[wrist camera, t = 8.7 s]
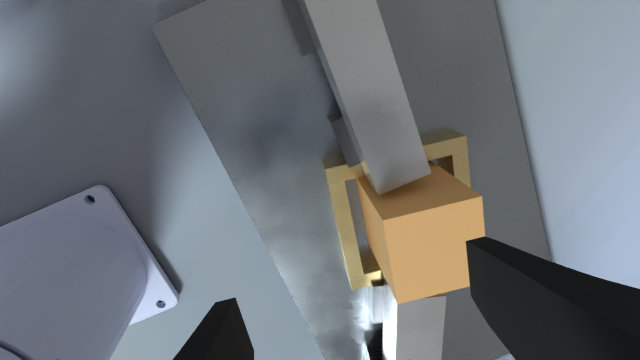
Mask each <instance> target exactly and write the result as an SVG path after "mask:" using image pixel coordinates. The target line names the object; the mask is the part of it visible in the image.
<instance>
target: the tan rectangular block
mask: <svg viewBox="0 0 640 360" xmlns="http://www.w3.org/2000/svg"><path fill="white" fill-rule="evenodd" d="M428 164H429V167H430V170H431V174H429V175H426V176H424V177H421V178H419V179H417V180H414V181H412V182H410V183H407V184H405V185H402V186H400V187H398V188H395V189H393V190H390V191H388V192H386V193H383V194H381V195H378V194H377V192H376V191H375V189H374V188H373V186H372V185H371V184H370V182H369V181H368V179H367V178H366V176H362V177H358V178H356V182H357V187H358V192H359V197H360V202H361V208H362V213H363V218H364V223H365V228H366V233H367V238H368V243H369V245H370V247H371V249H372V251H373V254H374V256H375V258H376V260H377V262H378V264H379V266H380V268H381V270H382V273H383V275H384V277H385V279H386V281H387V283H388V285H389V287H390V290H391V292H392V294H393V296H394V298H395V300H396V302H397V304H401V303H405V302H409V301H413V300H417V299H421V298H425V297H429V296H433V295H437V294H441V293H445V292H449V291H453V290H457V289H461V288H465V287H469V286H470V282H469V271H468V261H467V250H466V241H468V240H472V239H476V238H480V237H484V236H485V228H484V215H483V202H482V196H481V195H479V194H478V193H477V192H475V191H474V190H472V189H471V188H469V187H468V186H467V185H465V184H464V183H462V182H461V181H460V180H458V179H457V178H455V177H454V176H452V175H451V174H450V173H448V172H447V171H445V170H444V169H442V168H441V167H440V166H438V165H437V164H435V163H434V162H432V161H431V160H429V161H428Z"/></svg>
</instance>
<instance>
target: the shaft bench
mask: <svg viewBox="0 0 640 360" xmlns="http://www.w3.org/2000/svg"><path fill="white" fill-rule="evenodd" d="M150 27H151V29H152V31H153V33H154V35H155V37H156V39H157V41H158V43H159V44H160V46H161V48H162V50H163V52H164V54H165V56H166V58H167V60H168V62H169V63H170V65H171V67H172V69H173V71H174V73H175V75H176V77H177V79H178V80H179V82H180V84H181V86H182V88H183V90H184V92H185V94H186V96H187V98H188V99H189V101H190V103H191V105H192V107H193V109H194V111H195V113H196V115H197V117H198V118H199V120H200V122H201V124H202V126H203V128H204V130H205V132H206V134H207V136H208V137H209V139H210V141H211V143H212V145H213V147H214V149H215V151H216V153H217V155H218V156H219V158H220V160H221V162H222V164H223V166H224V168H225V170H226V172H227V173H228V175H229V177H230V179H231V181H232V183H233V185H234V187H235V189H236V191H237V192H238V194H239V196H240V198H241V200H242V202H243V204H244V206H245V208H246V210H247V211H248V213H249V215H250V217H251V219H252V221H253V223H254V225H255V227H256V229H257V230H258V232H259V234H260V236H261V238H262V240H263V242H264V244H265V246H266V248H267V249H268V251H269V253H270V255H271V257H272V259H273V261H274V263H275V265H276V266H277V268H278V270H279V272H280V274H281V276H282V278H283V280H284V282H285V284H286V285H287V287H288V289H289V291H290V293H291V295H292V297H293V299H294V301H295V303H296V304H297V306H298V308H299V310H300V312H301V314H302V316H303V318H304V320H305V322H306V323H307V325H308V327H309V329H310V331H311V333H312V335H313V337H314V339H315V341H316V342H317V344H318V346H319V348H320V350H321V352H322V354H323V356H324V358H325V359H326V360H494V359H497V358H499V357H502V356H504V355H507V354H509V353H510V352H509V351H508V349H507V348H506V347H505V346H504V344H503V343H502V342H501V341H500V339H499V338H498V337H497V335H496V334H495V333H494V332H493V330H492V329H491V328H490V326H489V325H488V324H487V322H486V320H485V319H484V317H483V316H482V314H481V312H480V311H479V309H478V307H477V306H476V304H475V302H474V300H473V299H472V297H471V292H470V286H469V287H465V288H461V289H457V290H453V291H449V292H445V293H441V294H437V295H433V296H429V297H425V298H421V299H417V300H413V301H409V302H405V303H401V304H397V302H396V300H395V298H394V296H393V294H392V292H391V290H390V287H389V285H388V283H387V281H386V279H385V277H384V275H383V273H382V270H381V268H380V266H379V264H378V262H377V260H376V258H375V256H374V254H373V251H372V249H371V247H370V245H369V243H368V238H367V233H366V228H365V223H364V218H363V213H362V208H361V202H360V197H359V192H358V187H357V182H356V178H358V177H362V176H366V178H367V179H368V181H369V182H370V184H371V185H372V186H373V188H374V189H375V191H376V192H377V194H378V195H381V194H383V193H386V192H388V191H390V190H393V189H395V188H398V187H400V186H402V185H405V184H407V183H410V182H412V181H414V180H417V179H419V178H421V177H424V176H426V175H429V174H431V170H430V167H429V164H428V161H429V160H431V161H432V162H434V163H435V164H437V165H438V166H440V167H441V168H442V169H444V170H445V171H447V172H448V173H450V174H451V175H452V176H454V177H455V178H457V179H458V180H460V181H461V182H462V183H464V184H465V185H467V186H468V187H469V188H471V189H472V190H474V191H475V192H477V193H478V194H479V195H481V196H482V202H483V215H484V228H485V237H489V238H492V239H494V240H497V241H500V242H502V243H505V244H507V245H510V246H512V247H515V248H517V249H520V250H522V251H525V252H527V253H530V254H532V255H535V256H538V257H540V258H543V259H545V260H548V261H551V259H550V254H549V250H548V245H547V241H546V236H545V231H544V227H543V222H542V218H541V213H540V209H539V204H538V200H537V195H536V190H535V186H534V181H533V177H532V172H531V168H530V163H529V158H528V154H527V149H526V145H525V140H524V136H523V131H522V127H521V122H520V117H519V113H518V108H517V104H516V99H515V95H514V90H513V85H512V81H511V76H510V72H509V67H508V63H507V58H506V54H505V49H504V44H503V40H502V35H501V31H500V26H499V22H498V17H497V12H496V8H495V3H494V0H206V1H204V2H202V3H199V4H197V5H195V6H193V7H190V8H188V9H186V10H184V11H181V12H179V13H177V14H175V15H172V16H170V17H168V18H166V19H163V20H161V21H159V22H157V23H154V24H152V25H150Z"/></svg>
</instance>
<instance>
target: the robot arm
mask: <svg viewBox="0 0 640 360" xmlns="http://www.w3.org/2000/svg"><path fill="white" fill-rule="evenodd" d="M88 195H91V196H93V197H94V199H95V202H92V201H90V200H89V199H88ZM466 250H467V261H468V271H469V282H470V292H471V297H472V299H473V300H474V302H475V304H476V306H477V307H478V309H479V311H480V312H481V314H482V316H483V317H484V319H485V320H486V322H487V324H488V325H489V326H490V328H491V329H492V330H493V332H494V333H495V334H496V335H497V337H498V338H499V339H500V341H501V342H502V343H503V344H504V346H505V347H506V348H507V349H508V351H509V352H510V353H511V354H512V356H513V357H514V358H515V359H516V360H640V289H637V288H634V287H630V286H626V285H622V284H619V283H615V282H611V281H608V280H604V279H601V278H598V277H594V276H591V275H588V274H585V273H582V272H579V271H576V270H573V269H570V268H567V267H564V266H562V265H559V264H556V263H553V262H551V261H548V260H545V259H543V258H540V257H538V256H535V255H532V254H530V253H527V252H525V251H522V250H520V249H517V248H515V247H512V246H510V245H507V244H505V243H502V242H500V241H497V240H494V239H492V238H489V237H485V236H484V237H480V238H476V239H472V240H468V241H466ZM159 300H162V301H164V302H165V304H161V303H160V302H159ZM178 301H179V294H178V293H177V291H176V289H175V288H174V286H173V285H172V283H171V282H170V280H169V279H168V277H167V276H166V274H165V273H164V271H163V270H162V268H161V267H160V265H159V264H158V262H157V261H156V259H155V258H154V256H153V254H152V253H151V251H150V250H149V248H148V247H147V245H146V244H145V242H144V241H143V239H142V238H141V236H140V235H139V233H138V232H137V230H136V229H135V227H134V226H133V224H132V222H131V221H130V219H129V218H128V216H127V215H126V213H125V212H124V210H123V209H122V207H121V206H120V204H119V203H118V201H117V200H116V198H115V197H114V195H113V194H112V192H111V190H110V189H109V188H108V187H106V186H104V185H96V186H93V187H91V188H89V189H87V190H84V191H82V192H80V193H77V194H75V195H73V196H70V197H68V198H66V199H63V200H61V201H59V202H56V203H54V204H52V205H49V206H47V207H45V208H42V209H40V210H38V211H36V212H33V213H31V214H29V215H26V216H24V217H22V218H19V219H17V220H15V221H12V222H10V223H8V224H5V225H3V226H1V227H0V360H109V359H110V358H111V356H112V354H113V352H114V350H115V349H116V347H117V345H118V343H119V341H120V340H121V338H122V336H123V334H124V332H125V331H126V329H127V327H128V326H129V325H132V324H134V323H136V322H139V321H141V320H144V319H146V318H148V317H151V316H153V315H156V314H158V313H160V312H163V311H165V310H168V309H170V308H172V307H174V306H176V305H177V303H178ZM173 360H254V349H253V346H252V344H251V341H250V338H249V335H248V332H247V329H246V326H245V324H244V321H243V318H242V315H241V312H240V309H239V307H238V304H237V301H236V298H232V299H228V300H224V301H220V302H216V303H215V304H214V305H213V307H212V308H211V309H210V310H209V312H208V313H207V315H206V316H205V317H204V319H203V320H202V321H201V323H200V324H199V326H198V327H197V328H196V330H195V331H194V332H193V334H192V335H191V336H190V338H189V339H188V340H187V342H186V343H185V344H184V346H183V347H182V348H181V350H180V351H179V352H178V354H177V355H176V356H175V357H174V359H173Z"/></svg>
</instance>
